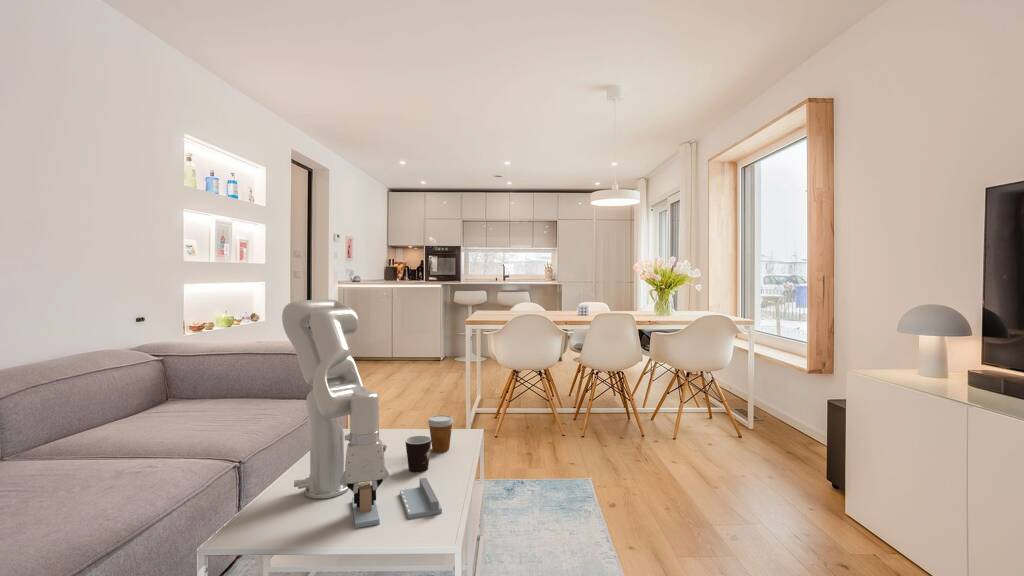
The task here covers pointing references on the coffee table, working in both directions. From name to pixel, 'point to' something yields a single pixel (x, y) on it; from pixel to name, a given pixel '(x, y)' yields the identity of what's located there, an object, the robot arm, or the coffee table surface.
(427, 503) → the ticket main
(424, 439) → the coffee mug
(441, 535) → the coffee table surface
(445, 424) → the disposable coffee cup
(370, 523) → the grey slab
